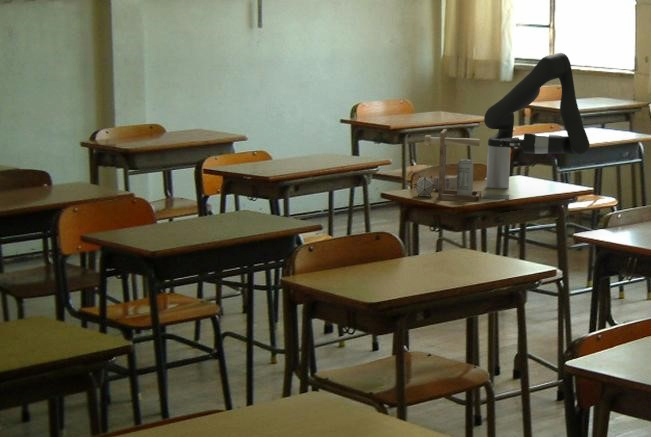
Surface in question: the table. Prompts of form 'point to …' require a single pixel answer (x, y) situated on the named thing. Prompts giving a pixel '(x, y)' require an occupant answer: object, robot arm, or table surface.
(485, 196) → the mat
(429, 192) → the game die
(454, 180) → the mineral specimen
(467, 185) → the energy drink can
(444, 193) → the wooden gallows stand
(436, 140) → the key bar
